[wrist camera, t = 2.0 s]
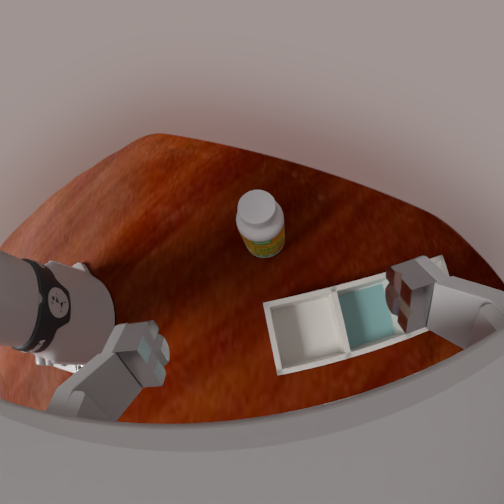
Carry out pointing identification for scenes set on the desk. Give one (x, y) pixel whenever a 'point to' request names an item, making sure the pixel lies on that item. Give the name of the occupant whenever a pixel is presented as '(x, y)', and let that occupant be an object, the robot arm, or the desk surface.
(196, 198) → the desk surface
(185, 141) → the desk surface
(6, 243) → the desk surface
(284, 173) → the desk surface
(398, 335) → the well holder
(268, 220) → the supplement bottle
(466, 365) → the robot arm
